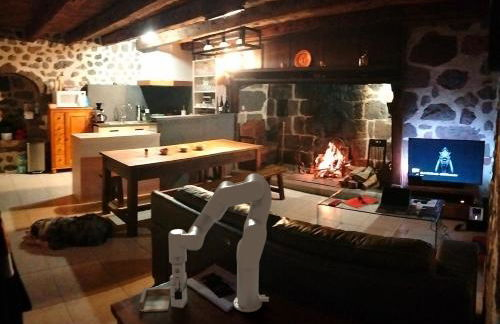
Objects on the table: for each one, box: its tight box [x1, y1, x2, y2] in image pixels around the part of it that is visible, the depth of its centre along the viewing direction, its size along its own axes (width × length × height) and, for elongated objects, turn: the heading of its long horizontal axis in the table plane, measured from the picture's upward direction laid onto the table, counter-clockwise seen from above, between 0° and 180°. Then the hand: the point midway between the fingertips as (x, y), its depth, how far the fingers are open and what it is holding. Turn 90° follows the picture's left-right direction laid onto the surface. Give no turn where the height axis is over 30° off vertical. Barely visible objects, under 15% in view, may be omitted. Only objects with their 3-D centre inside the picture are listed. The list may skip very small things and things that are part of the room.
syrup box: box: [169, 271, 188, 309], centre depth 180 cm, size 6×6×14 cm
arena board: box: [139, 286, 171, 313], centre depth 181 cm, size 12×12×4 cm
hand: (179, 294), depth 180 cm, fingers open, 7 cm apart
